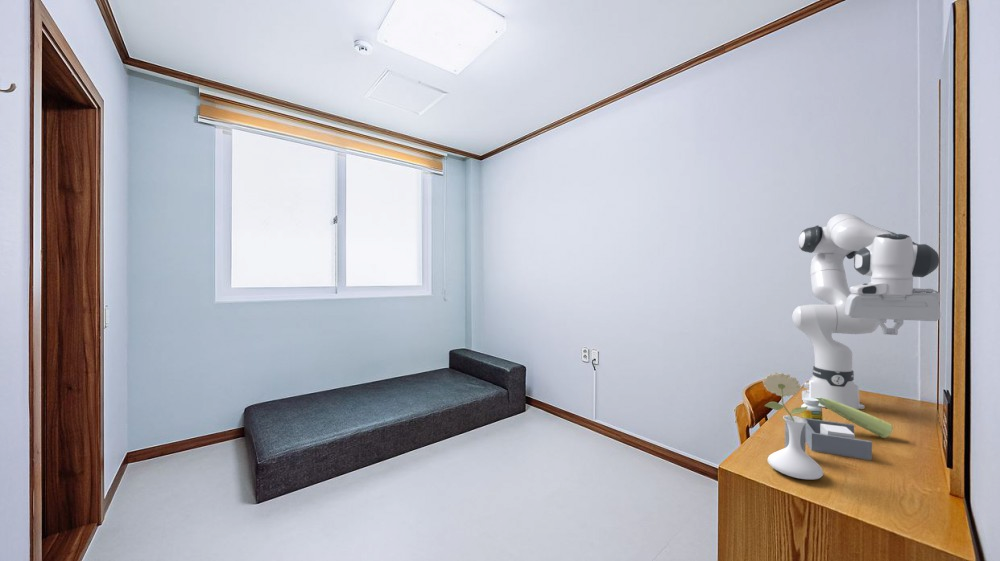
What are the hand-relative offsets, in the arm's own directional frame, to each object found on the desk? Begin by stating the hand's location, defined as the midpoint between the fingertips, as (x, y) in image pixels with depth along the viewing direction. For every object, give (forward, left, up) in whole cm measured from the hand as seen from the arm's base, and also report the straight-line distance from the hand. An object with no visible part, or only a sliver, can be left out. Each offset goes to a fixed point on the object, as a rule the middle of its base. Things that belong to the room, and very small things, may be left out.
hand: (889, 334), depth 115 cm
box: (+10, -15, -33) cm, 38 cm away
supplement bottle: (-3, -17, -33) cm, 37 cm away
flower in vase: (+34, -30, -33) cm, 56 cm away
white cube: (+12, -15, -33) cm, 38 cm away
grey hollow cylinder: (+23, -27, -33) cm, 48 cm away
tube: (-4, +1, -31) cm, 31 cm away
